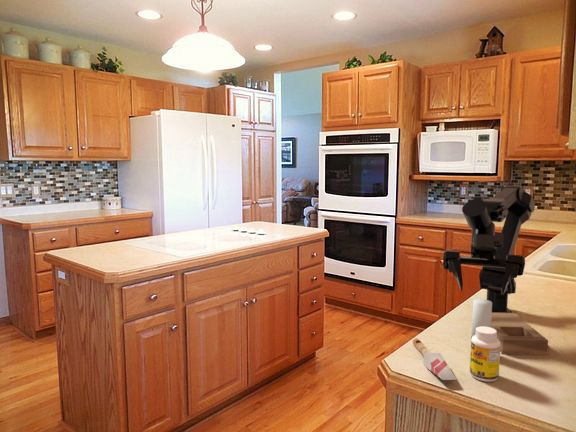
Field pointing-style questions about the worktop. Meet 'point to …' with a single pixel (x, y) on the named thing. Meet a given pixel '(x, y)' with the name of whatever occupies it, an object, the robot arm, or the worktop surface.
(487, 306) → the peg
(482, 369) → the supplement bottle
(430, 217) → the worktop surface
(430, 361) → the paintbrush
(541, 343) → the brown holed block
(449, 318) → the worktop surface
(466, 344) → the worktop surface
